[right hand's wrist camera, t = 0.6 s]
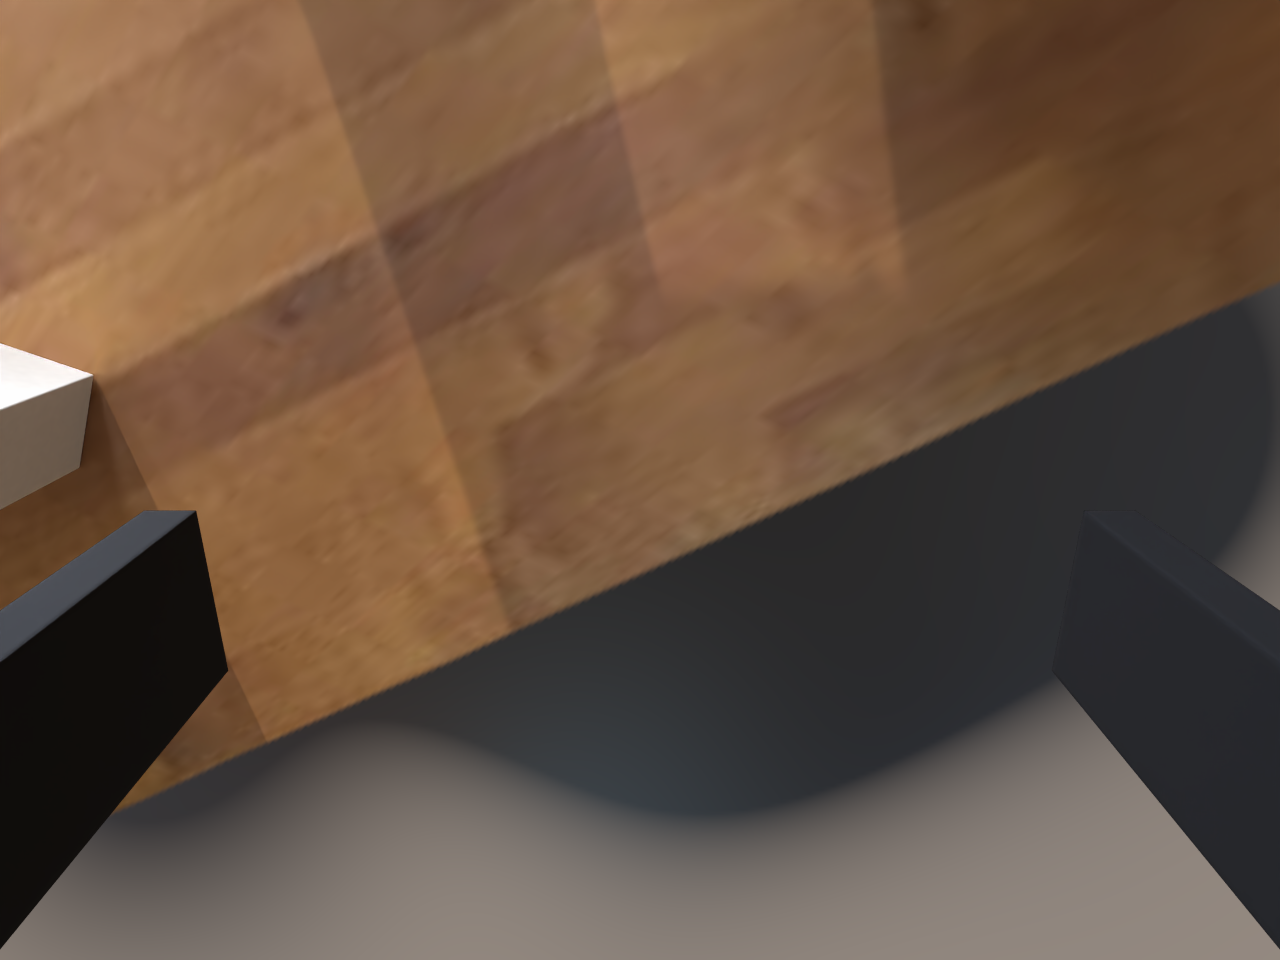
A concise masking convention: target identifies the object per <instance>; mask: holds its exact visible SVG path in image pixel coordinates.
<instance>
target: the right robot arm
mask: <svg viewBox="0 0 1280 960" xmlns="http://www.w3.org/2000/svg"><path fill="white" fill-rule="evenodd" d="M227 671H228V667H227V662H226V657H225V652H224V647H223V642H222V637H221V632H220V627H219V622H218V617H217V612H216V607H215V602H214V597H213V592H212V587H211V582H210V577H209V572H208V567H207V562H206V557H205V552H204V547H203V542H202V538H201V533H200V528H199V523H198V518H197V513H196V511H143V512H142V513H140V514H139V515H137V516H136V517H134V518H133V519H132V520H130V521H129V522H127V523H126V524H124V525H123V526H121V527H120V528H119V529H117V530H116V531H114V532H113V533H111V534H110V535H109V536H107V537H106V538H104V539H103V540H101V541H100V542H98V543H97V544H96V545H94V546H93V547H91V548H90V549H88V550H87V551H85V552H84V553H83V554H81V555H80V556H78V557H77V558H75V559H74V560H72V561H71V562H70V563H68V564H67V565H65V566H64V567H62V568H61V569H59V570H58V571H57V572H55V573H54V574H52V575H51V576H49V577H48V578H46V579H45V580H44V581H42V582H41V583H39V584H38V585H36V586H35V587H33V588H32V589H31V590H29V591H28V592H26V593H25V594H23V595H22V596H21V597H19V598H18V599H16V600H15V601H13V602H12V603H10V604H9V605H8V606H6V607H5V608H3V609H2V610H0V949H1V948H2V946H3V945H4V944H5V943H6V942H7V940H8V939H9V938H10V937H11V935H12V934H13V933H14V932H15V931H16V929H17V928H18V927H19V926H20V924H21V923H22V922H23V921H24V920H25V918H26V917H27V916H28V915H29V913H30V912H31V911H32V910H33V909H34V907H35V906H36V905H37V904H38V902H39V901H40V900H41V899H42V897H43V896H44V895H45V894H46V893H47V891H48V890H49V889H50V888H51V887H52V885H53V884H54V883H55V882H56V880H57V879H58V878H59V877H60V875H61V874H62V873H63V872H64V871H65V869H66V868H67V867H68V866H69V865H70V863H71V862H72V861H73V860H74V858H75V857H76V856H77V855H78V853H79V852H80V851H81V850H82V849H83V847H84V846H85V845H86V844H87V843H88V841H89V840H90V839H91V838H92V836H93V835H94V834H95V833H96V832H97V830H98V829H99V828H100V827H101V825H102V824H103V823H104V822H105V821H106V819H107V818H108V817H109V816H110V814H111V813H112V812H113V811H114V810H115V808H116V807H117V806H118V805H119V803H120V802H121V801H122V800H123V799H124V797H125V796H126V795H127V794H128V792H129V791H130V790H131V789H132V788H133V786H134V785H135V784H136V783H137V781H138V780H139V779H140V778H141V777H142V775H143V774H144V773H145V772H146V770H147V769H148V768H149V767H150V766H151V764H152V763H153V762H154V761H155V759H156V758H157V757H158V756H159V755H160V753H161V752H162V751H163V750H164V748H165V747H166V746H167V745H168V744H169V742H170V741H171V740H172V739H173V737H174V736H175V735H176V734H177V733H178V731H179V730H180V729H181V728H182V726H183V725H184V724H185V723H186V722H187V720H188V719H189V718H190V717H191V715H192V714H193V713H194V712H195V711H196V709H197V708H198V707H199V706H200V704H201V703H202V702H203V701H204V700H205V698H206V697H207V696H208V695H209V693H210V692H211V691H212V690H213V688H214V687H215V686H216V685H217V684H218V682H219V681H220V680H221V679H222V677H223V676H224V675H225V674H226V673H227ZM1052 671H1053V673H1054V674H1055V675H1056V676H1057V677H1058V679H1059V680H1060V681H1061V682H1062V684H1063V685H1064V686H1065V687H1066V688H1067V690H1068V691H1069V692H1070V693H1071V695H1072V696H1073V697H1074V698H1075V699H1076V701H1077V702H1078V703H1079V704H1080V706H1081V707H1082V708H1083V709H1084V710H1085V712H1086V713H1087V714H1088V715H1089V717H1090V718H1091V719H1092V720H1093V722H1094V723H1095V724H1096V725H1097V726H1098V728H1099V729H1100V730H1101V731H1102V733H1103V734H1104V735H1105V736H1106V737H1107V739H1108V740H1109V741H1110V742H1111V744H1112V745H1113V746H1114V747H1115V748H1116V750H1117V751H1118V752H1119V753H1120V755H1121V756H1122V757H1123V758H1124V759H1125V761H1126V762H1127V763H1128V764H1129V766H1130V767H1131V768H1132V769H1133V770H1134V772H1135V773H1136V774H1137V775H1138V777H1139V778H1140V779H1141V780H1142V781H1143V783H1144V784H1145V785H1146V786H1147V788H1148V789H1149V790H1150V791H1151V792H1152V794H1153V795H1154V796H1155V797H1156V798H1157V800H1158V801H1159V802H1160V803H1161V805H1162V806H1163V807H1164V808H1165V809H1166V811H1167V812H1168V813H1169V814H1170V816H1171V817H1172V818H1173V819H1174V821H1175V822H1176V823H1177V824H1178V825H1179V827H1180V828H1181V829H1182V830H1183V832H1184V833H1185V834H1186V835H1187V836H1188V838H1189V839H1190V840H1191V841H1192V842H1193V844H1194V845H1195V846H1196V847H1197V849H1198V850H1199V851H1200V852H1201V854H1202V855H1203V856H1204V857H1205V858H1206V860H1207V861H1208V862H1209V863H1210V865H1211V866H1212V867H1213V868H1214V869H1215V871H1216V872H1217V873H1218V874H1219V876H1220V877H1221V878H1222V879H1223V880H1224V882H1225V883H1226V884H1227V885H1228V887H1229V888H1230V889H1231V890H1232V891H1233V893H1234V894H1235V895H1236V896H1237V898H1238V899H1239V900H1240V901H1241V902H1242V904H1243V905H1244V906H1245V907H1246V909H1247V910H1248V911H1249V912H1250V913H1251V915H1252V916H1253V917H1254V918H1255V920H1256V921H1257V922H1258V923H1259V924H1260V926H1261V927H1262V928H1263V929H1264V930H1265V932H1266V933H1267V934H1268V935H1269V937H1270V938H1271V939H1272V940H1273V942H1274V943H1275V944H1276V945H1277V946H1278V948H1279V949H1280V610H1278V609H1277V608H1275V607H1274V606H1272V605H1271V604H1270V603H1268V602H1267V601H1265V600H1264V599H1262V598H1261V597H1259V596H1258V595H1257V594H1255V593H1254V592H1252V591H1251V590H1249V589H1248V588H1246V587H1245V586H1244V585H1242V584H1241V583H1239V582H1238V581H1236V580H1235V579H1233V578H1232V577H1231V576H1229V575H1228V574H1226V573H1225V572H1223V571H1222V570H1221V569H1219V568H1218V567H1216V566H1215V565H1213V564H1212V563H1210V562H1209V561H1208V560H1206V559H1205V558H1203V557H1202V556H1200V555H1199V554H1197V553H1196V552H1195V551H1193V550H1192V549H1190V548H1189V547H1187V546H1186V545H1184V544H1183V543H1182V542H1180V541H1179V540H1177V539H1176V538H1174V537H1173V536H1171V535H1170V534H1168V533H1167V532H1166V531H1164V530H1163V529H1161V528H1160V527H1159V526H1157V525H1156V524H1154V523H1153V522H1151V521H1150V520H1148V519H1147V518H1146V517H1144V516H1143V515H1141V514H1140V513H1138V512H1137V511H1084V513H1083V518H1082V523H1081V528H1080V533H1079V538H1078V543H1077V548H1076V553H1075V557H1074V562H1073V567H1072V572H1071V577H1070V582H1069V587H1068V592H1067V597H1066V602H1065V607H1064V612H1063V617H1062V622H1061V627H1060V632H1059V637H1058V642H1057V647H1056V652H1055V657H1054V662H1053V667H1052Z"/></svg>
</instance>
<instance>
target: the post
mask: <svg viewBox="0 0 1280 960" xmlns="http://www.w3.org/2000/svg"><path fill="white" fill-rule="evenodd" d="M92 382H93V375H92V374H89V373H86V372H83V371H80V370H78V369H75V368H72V367H69V366H66V365H63V364H60V363H57V362H54V361H51V360H48V359H45V358H42V357H39V356H36V355H33V354H30V353H27V352H25V351H22V350H19V349H16V348H13V347H10V346H7V345H4V344H1V343H0V510H1V509H3V508H5V507H6V506H8V505H10V504H12V503H14V502H16V501H18V500H20V499H22V498H23V497H25V496H27V495H29V494H31V493H33V492H35V491H37V490H38V489H40V488H42V487H44V486H46V485H48V484H50V483H52V482H54V481H55V480H57V479H59V478H61V477H63V476H65V475H67V474H69V473H71V472H72V471H74V470H76V469H78V468H79V467H80V461H81V454H82V448H83V441H84V435H85V428H86V421H87V415H88V408H89V402H90V395H91V389H92Z"/></svg>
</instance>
